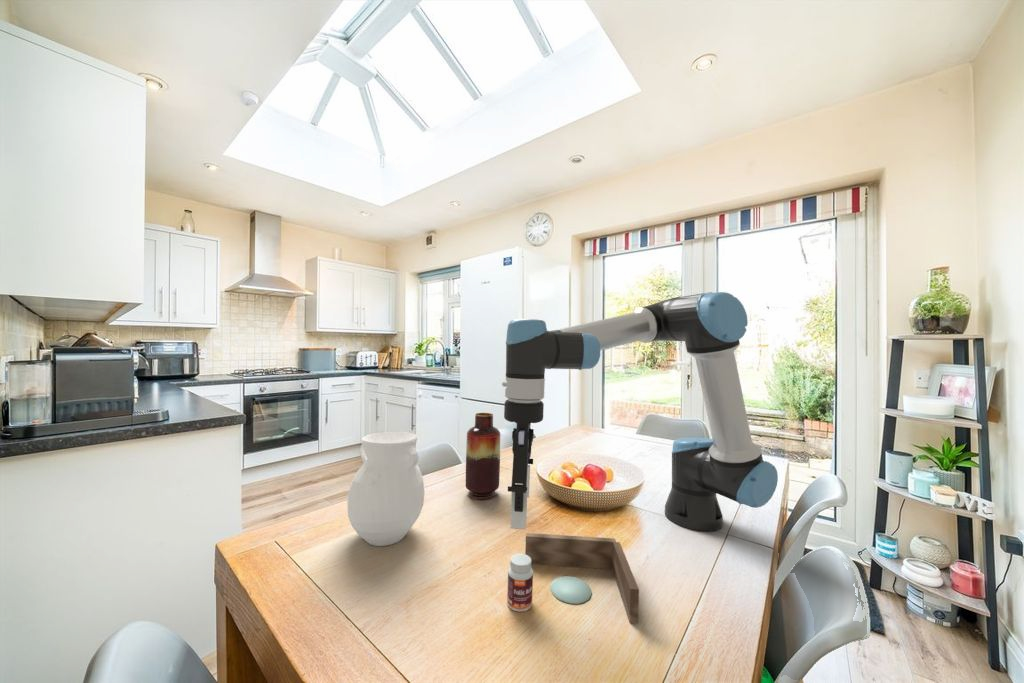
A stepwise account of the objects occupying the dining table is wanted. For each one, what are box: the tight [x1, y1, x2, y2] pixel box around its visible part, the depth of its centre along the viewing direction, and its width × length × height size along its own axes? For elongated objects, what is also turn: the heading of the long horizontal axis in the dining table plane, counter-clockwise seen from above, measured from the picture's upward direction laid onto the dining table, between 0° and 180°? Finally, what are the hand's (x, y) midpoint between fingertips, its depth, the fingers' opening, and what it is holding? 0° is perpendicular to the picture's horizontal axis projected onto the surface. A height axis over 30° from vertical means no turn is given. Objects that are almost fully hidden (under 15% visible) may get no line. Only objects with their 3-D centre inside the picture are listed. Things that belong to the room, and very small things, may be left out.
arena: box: [525, 532, 640, 624], centre depth 76 cm, size 21×18×6 cm
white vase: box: [347, 430, 425, 547], centre depth 94 cm, size 19×18×25 cm
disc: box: [550, 575, 592, 605], centre depth 75 cm, size 8×8×1 cm
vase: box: [465, 412, 501, 501], centre depth 122 cm, size 11×11×26 cm
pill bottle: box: [506, 553, 534, 613], centre depth 71 cm, size 5×5×8 cm
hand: (520, 511), depth 71 cm, fingers open, 13 cm apart
